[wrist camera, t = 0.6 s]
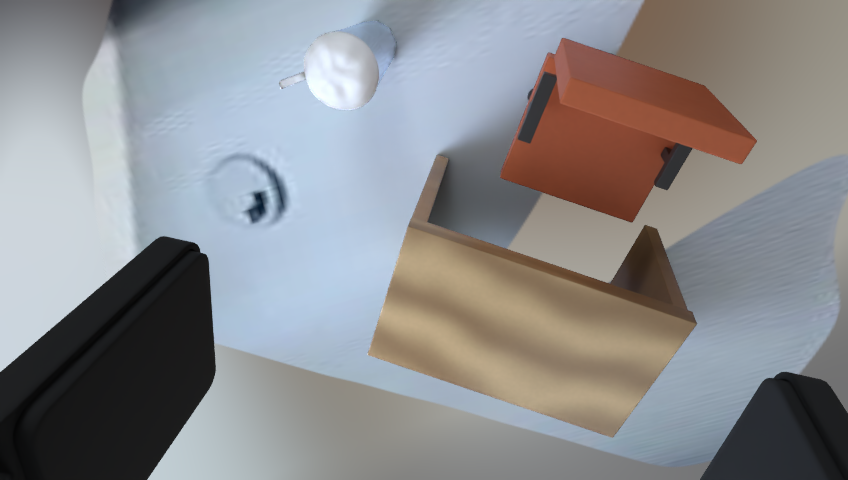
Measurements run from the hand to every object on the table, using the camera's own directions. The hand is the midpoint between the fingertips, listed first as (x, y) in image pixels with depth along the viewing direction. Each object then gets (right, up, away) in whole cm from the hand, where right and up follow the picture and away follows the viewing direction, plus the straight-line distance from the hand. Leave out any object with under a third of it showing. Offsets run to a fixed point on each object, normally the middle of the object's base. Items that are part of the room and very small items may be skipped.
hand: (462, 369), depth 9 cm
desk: (+7, +2, +36) cm, 37 cm away
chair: (+11, +11, +30) cm, 34 cm away
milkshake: (-5, +16, +30) cm, 35 cm away
